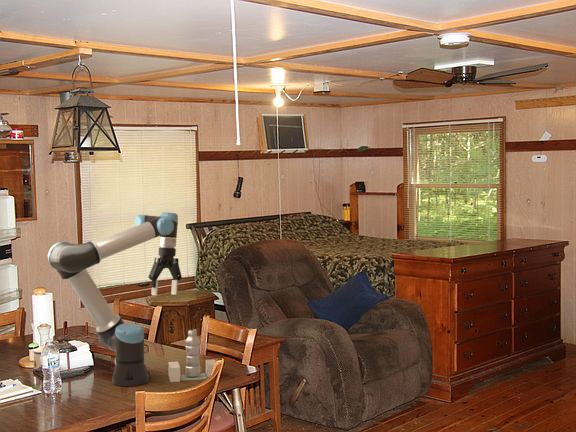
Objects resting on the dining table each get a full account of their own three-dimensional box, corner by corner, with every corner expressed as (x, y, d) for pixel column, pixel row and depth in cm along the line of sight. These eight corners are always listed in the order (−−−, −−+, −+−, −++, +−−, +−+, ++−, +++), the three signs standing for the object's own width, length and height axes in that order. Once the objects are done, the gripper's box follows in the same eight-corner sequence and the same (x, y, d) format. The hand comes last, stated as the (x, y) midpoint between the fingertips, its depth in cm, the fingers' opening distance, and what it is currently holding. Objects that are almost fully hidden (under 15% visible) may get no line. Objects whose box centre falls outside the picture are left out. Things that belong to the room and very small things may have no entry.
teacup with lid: (35, 367, 347) (35, 341, 347) (56, 366, 348) (56, 341, 348) (30, 374, 335) (29, 348, 335) (51, 373, 336) (51, 347, 336)
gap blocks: (168, 376, 332) (168, 362, 331) (214, 372, 336) (214, 359, 336) (170, 382, 322) (170, 367, 322) (218, 378, 327) (218, 364, 326)
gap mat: (179, 375, 332) (179, 374, 332) (204, 374, 334) (204, 373, 334) (181, 380, 324) (181, 379, 324) (207, 379, 327) (207, 378, 327)
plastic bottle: (186, 374, 333) (185, 328, 331) (202, 374, 332) (201, 328, 331) (183, 378, 326) (183, 331, 325) (199, 378, 326) (199, 331, 325)
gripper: (155, 246, 332) (152, 296, 331) (191, 248, 353) (188, 294, 353) (142, 245, 336) (138, 294, 335) (178, 247, 357) (175, 293, 356)
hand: (164, 294), depth 344 cm, fingers open, 13 cm apart
